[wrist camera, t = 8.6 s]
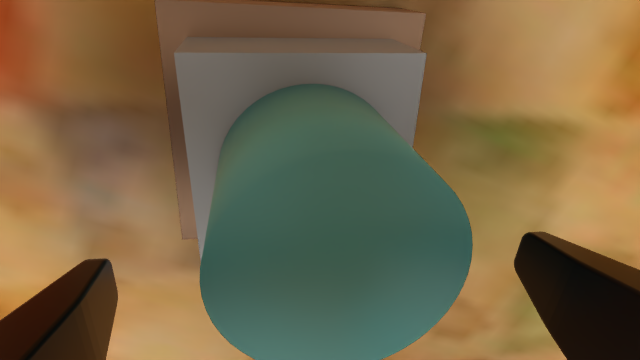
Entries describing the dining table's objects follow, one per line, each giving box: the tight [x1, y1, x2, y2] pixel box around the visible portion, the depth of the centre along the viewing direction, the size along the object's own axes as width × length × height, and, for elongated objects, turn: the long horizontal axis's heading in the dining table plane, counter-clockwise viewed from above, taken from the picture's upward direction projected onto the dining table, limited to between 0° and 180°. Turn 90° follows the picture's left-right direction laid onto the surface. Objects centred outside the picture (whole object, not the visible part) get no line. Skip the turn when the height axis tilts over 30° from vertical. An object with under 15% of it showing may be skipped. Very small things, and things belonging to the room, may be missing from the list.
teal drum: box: [200, 84, 473, 360], centre depth 10 cm, size 6×6×5 cm
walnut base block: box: [155, 0, 426, 239], centre depth 16 cm, size 9×9×3 cm
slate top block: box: [174, 37, 427, 259], centre depth 14 cm, size 7×7×3 cm
